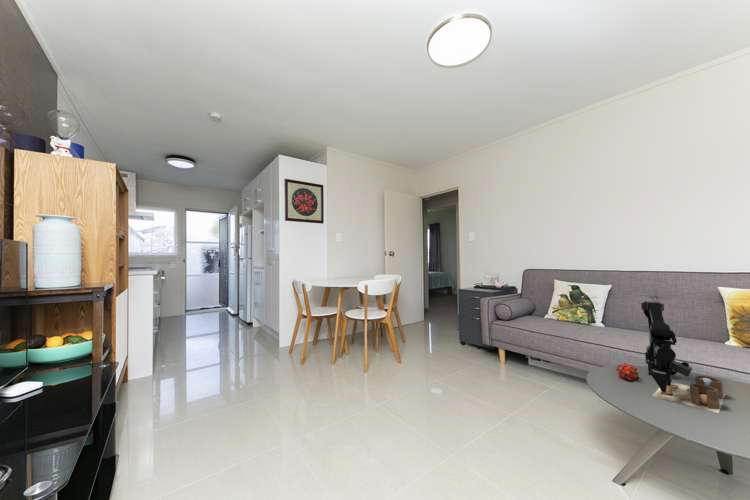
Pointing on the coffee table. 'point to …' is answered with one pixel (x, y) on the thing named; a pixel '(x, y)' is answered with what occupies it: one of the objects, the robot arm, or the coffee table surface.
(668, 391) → the terracotta ball
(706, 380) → the slate-blue ball
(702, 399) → the terracotta ball in tube
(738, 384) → the coffee table surface
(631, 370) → the dragon fruit
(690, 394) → the cream wooden tray
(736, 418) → the coffee table surface
